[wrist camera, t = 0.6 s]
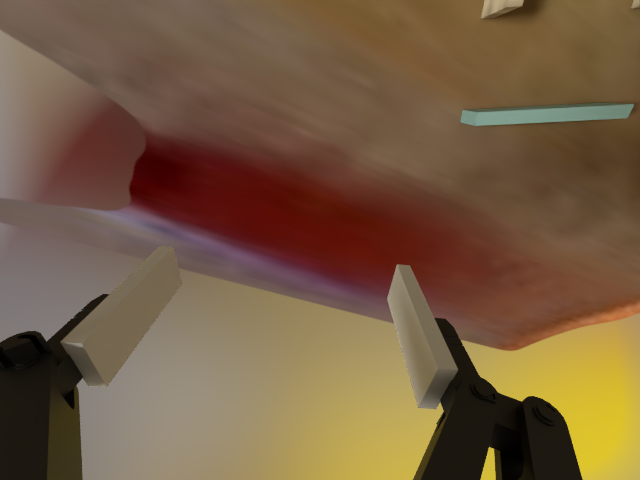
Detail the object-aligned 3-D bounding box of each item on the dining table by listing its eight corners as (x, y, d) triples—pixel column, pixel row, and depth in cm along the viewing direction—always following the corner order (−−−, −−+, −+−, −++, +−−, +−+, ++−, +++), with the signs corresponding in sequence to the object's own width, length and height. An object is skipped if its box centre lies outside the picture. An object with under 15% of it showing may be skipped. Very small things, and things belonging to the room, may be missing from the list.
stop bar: (462, 110, 35) (477, 112, 32) (603, 102, 34) (634, 104, 31) (460, 122, 36) (474, 125, 32) (597, 115, 35) (627, 118, 32)
